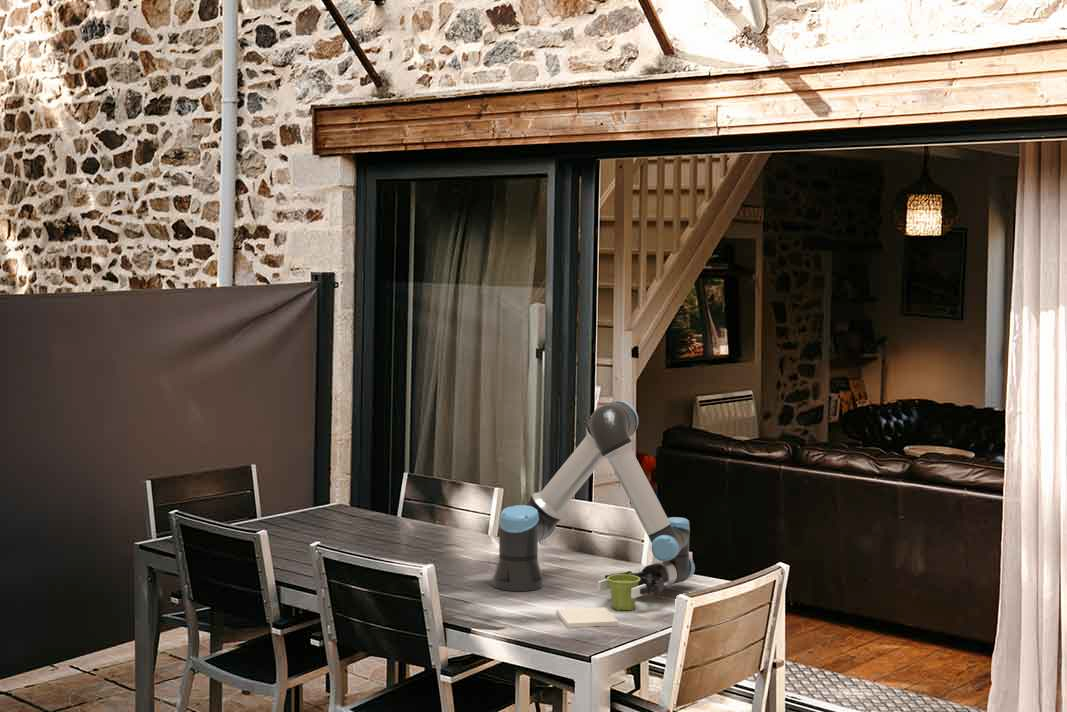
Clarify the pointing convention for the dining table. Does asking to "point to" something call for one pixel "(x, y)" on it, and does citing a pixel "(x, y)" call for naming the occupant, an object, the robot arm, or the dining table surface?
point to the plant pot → (622, 590)
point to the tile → (587, 617)
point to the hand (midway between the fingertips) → (615, 589)
